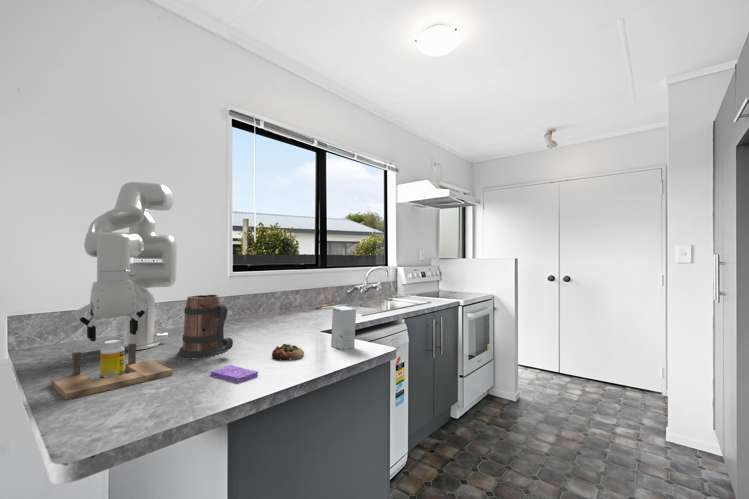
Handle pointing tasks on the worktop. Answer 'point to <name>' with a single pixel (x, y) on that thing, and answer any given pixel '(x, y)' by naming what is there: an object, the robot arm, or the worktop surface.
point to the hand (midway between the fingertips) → (113, 337)
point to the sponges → (234, 373)
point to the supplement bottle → (112, 359)
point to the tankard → (204, 328)
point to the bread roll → (287, 352)
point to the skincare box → (343, 327)
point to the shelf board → (85, 385)
